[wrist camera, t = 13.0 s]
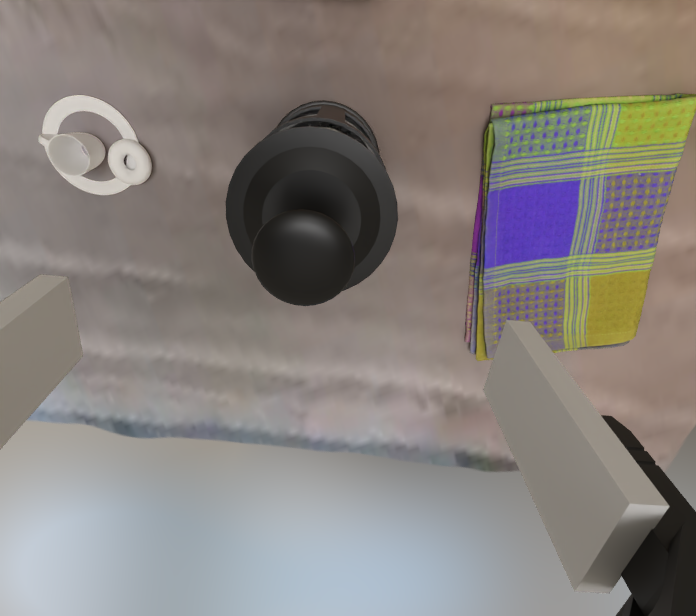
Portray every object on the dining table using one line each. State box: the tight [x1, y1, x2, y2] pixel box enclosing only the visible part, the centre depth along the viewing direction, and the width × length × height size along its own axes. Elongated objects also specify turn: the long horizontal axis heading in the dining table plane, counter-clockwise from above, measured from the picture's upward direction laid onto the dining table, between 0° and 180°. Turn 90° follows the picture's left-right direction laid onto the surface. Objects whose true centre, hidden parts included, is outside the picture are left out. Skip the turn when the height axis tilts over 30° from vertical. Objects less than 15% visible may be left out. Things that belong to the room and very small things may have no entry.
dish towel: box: [465, 94, 696, 361], centre depth 41 cm, size 18×24×3 cm
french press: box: [226, 101, 398, 306], centre depth 28 cm, size 12×9×23 cm
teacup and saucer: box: [38, 95, 152, 195], centre depth 36 cm, size 9×8×4 cm
